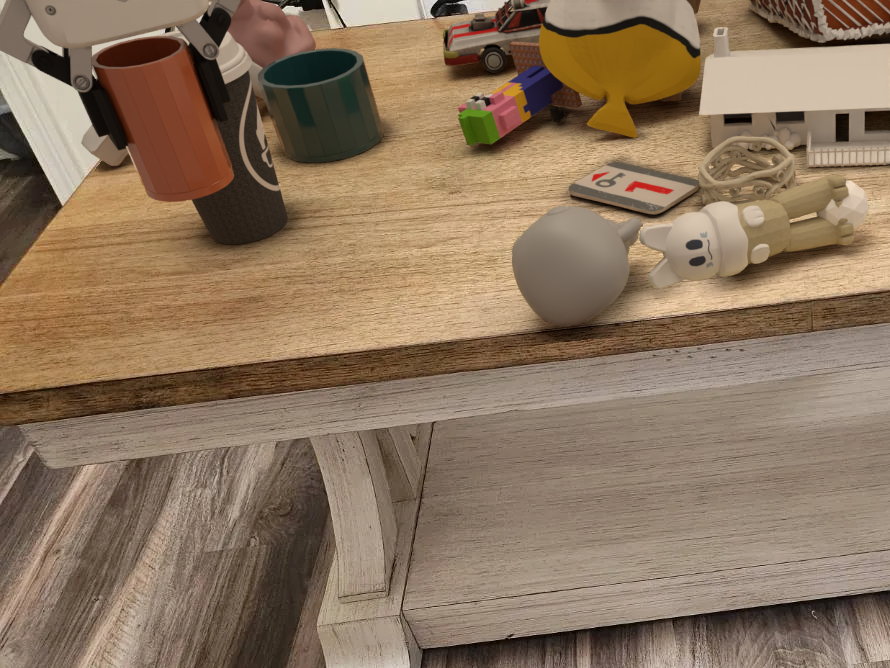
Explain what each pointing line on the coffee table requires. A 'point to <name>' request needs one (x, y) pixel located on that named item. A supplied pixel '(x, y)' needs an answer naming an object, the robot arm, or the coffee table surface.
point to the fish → (621, 53)
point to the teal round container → (321, 104)
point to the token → (634, 187)
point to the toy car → (494, 34)
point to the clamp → (113, 157)
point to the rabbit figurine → (754, 230)
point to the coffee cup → (242, 160)
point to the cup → (164, 117)
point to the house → (800, 98)
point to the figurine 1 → (269, 32)
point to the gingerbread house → (827, 17)
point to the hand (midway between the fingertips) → (168, 126)
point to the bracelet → (745, 171)
